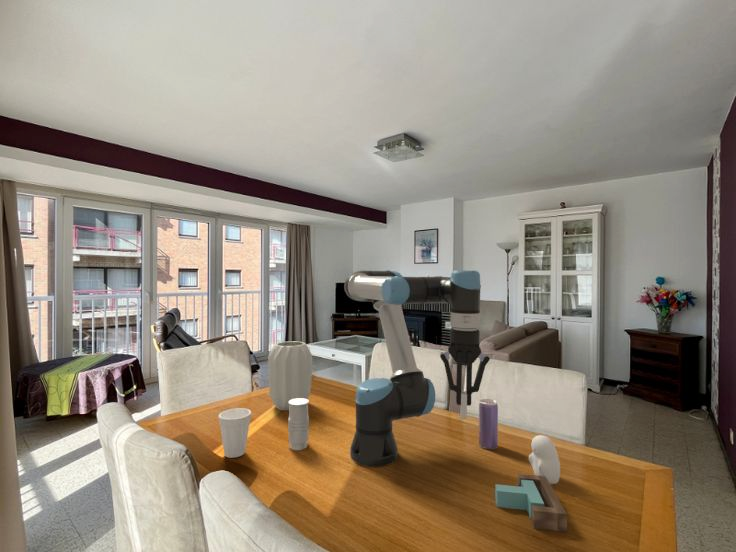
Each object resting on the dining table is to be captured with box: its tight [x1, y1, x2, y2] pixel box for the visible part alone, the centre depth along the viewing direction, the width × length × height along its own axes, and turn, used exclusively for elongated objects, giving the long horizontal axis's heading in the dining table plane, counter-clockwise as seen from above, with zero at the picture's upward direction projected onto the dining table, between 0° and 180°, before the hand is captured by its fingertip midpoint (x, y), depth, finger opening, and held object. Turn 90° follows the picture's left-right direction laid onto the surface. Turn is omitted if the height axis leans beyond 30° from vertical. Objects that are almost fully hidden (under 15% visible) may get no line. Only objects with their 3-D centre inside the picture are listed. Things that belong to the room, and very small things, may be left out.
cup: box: [217, 407, 252, 459], centre depth 120 cm, size 10×10×13 cm
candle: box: [287, 398, 310, 451], centre depth 126 cm, size 7×7×15 cm
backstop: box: [517, 473, 568, 533], centre depth 92 cm, size 7×16×4 cm, turn 170°
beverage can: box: [478, 398, 499, 451], centre depth 126 cm, size 6×6×15 cm
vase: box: [267, 340, 313, 412], centre depth 164 cm, size 20×20×28 cm
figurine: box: [528, 434, 561, 485], centre depth 106 cm, size 7×8×12 cm
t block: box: [494, 480, 545, 520], centre depth 93 cm, size 10×10×4 cm
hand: (463, 416), depth 99 cm, fingers closed
